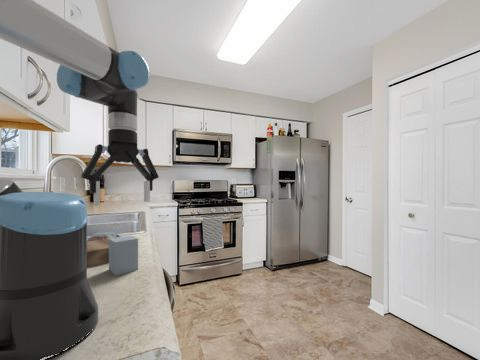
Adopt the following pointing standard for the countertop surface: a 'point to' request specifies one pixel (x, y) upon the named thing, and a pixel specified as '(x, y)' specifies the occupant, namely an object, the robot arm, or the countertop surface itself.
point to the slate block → (123, 254)
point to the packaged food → (102, 236)
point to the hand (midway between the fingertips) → (123, 203)
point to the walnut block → (98, 252)
